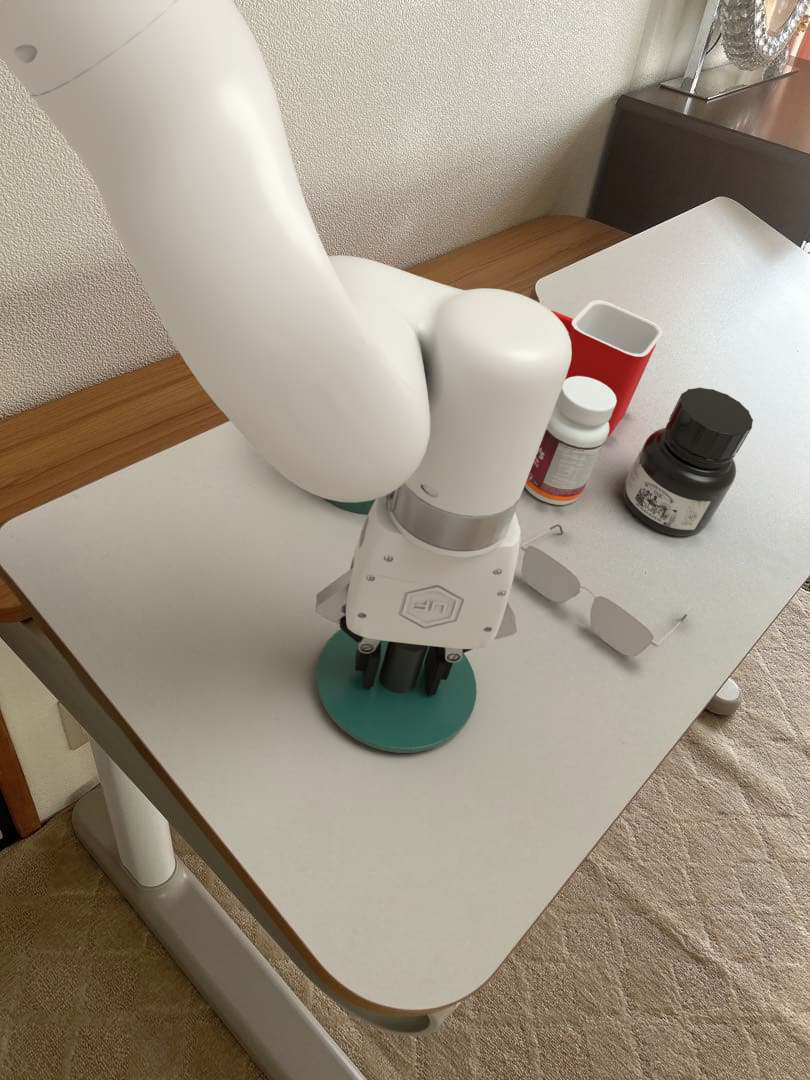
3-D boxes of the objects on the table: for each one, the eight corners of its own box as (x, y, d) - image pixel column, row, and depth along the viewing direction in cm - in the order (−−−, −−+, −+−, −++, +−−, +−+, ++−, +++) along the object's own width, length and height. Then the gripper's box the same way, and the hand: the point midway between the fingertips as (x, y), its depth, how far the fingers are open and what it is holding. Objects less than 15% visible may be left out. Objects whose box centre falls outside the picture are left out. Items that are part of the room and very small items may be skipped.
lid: (281, 692, 64) (289, 639, 60) (377, 600, 72) (390, 548, 68) (416, 789, 61) (435, 741, 56) (501, 682, 69) (523, 632, 64)
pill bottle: (517, 460, 88) (551, 367, 81) (576, 469, 89) (616, 377, 81) (523, 502, 84) (559, 407, 76) (585, 511, 85) (627, 418, 77)
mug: (630, 410, 99) (667, 328, 91) (605, 445, 93) (642, 361, 86) (535, 365, 102) (563, 282, 94) (505, 396, 96) (533, 310, 89)
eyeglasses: (508, 570, 77) (523, 537, 75) (556, 535, 83) (572, 503, 80) (642, 670, 72) (662, 638, 69) (683, 626, 77) (704, 594, 75)
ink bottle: (600, 492, 87) (646, 394, 79) (652, 463, 92) (700, 368, 84) (677, 554, 83) (734, 457, 75) (728, 520, 88) (786, 426, 80)
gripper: (309, 521, 49) (280, 707, 62) (597, 557, 51) (512, 730, 64) (317, 436, 54) (289, 624, 67) (578, 472, 56) (503, 647, 69)
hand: (398, 674), depth 65 cm, fingers open, 4 cm apart
